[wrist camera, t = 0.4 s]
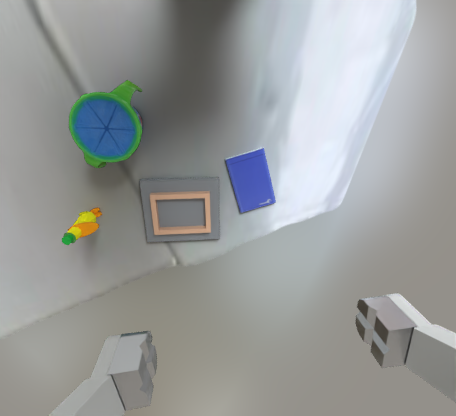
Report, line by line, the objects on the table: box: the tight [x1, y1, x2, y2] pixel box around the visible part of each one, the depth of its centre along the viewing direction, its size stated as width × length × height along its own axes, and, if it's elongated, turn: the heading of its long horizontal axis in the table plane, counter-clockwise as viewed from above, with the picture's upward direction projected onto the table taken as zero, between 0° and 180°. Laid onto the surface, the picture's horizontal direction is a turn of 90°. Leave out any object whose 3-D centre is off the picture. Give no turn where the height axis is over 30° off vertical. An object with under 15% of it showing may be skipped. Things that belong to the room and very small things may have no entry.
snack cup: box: [69, 80, 143, 168], centre depth 45 cm, size 16×10×10 cm
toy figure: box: [62, 208, 102, 245], centre depth 50 cm, size 7×4×12 cm, turn 104°
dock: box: [139, 177, 220, 242], centre depth 56 cm, size 14×16×3 cm
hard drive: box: [225, 148, 276, 213], centre depth 56 cm, size 2×8×12 cm
